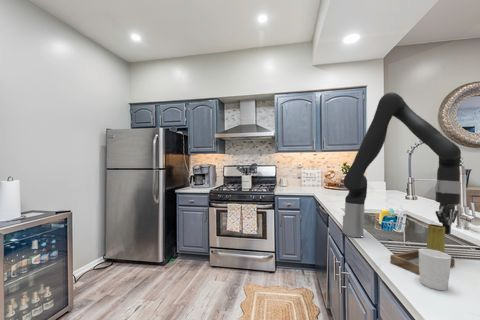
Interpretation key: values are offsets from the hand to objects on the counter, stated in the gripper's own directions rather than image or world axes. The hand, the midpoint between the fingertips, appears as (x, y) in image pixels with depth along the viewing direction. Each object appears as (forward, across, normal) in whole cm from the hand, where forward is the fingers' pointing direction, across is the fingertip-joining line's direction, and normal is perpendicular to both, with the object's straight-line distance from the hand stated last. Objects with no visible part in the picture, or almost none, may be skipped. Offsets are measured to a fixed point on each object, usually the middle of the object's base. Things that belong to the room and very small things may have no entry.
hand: (446, 233), depth 94 cm
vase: (+11, +8, 0) cm, 13 cm away
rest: (+10, +16, 0) cm, 19 cm away
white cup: (+11, +31, +10) cm, 34 cm away
